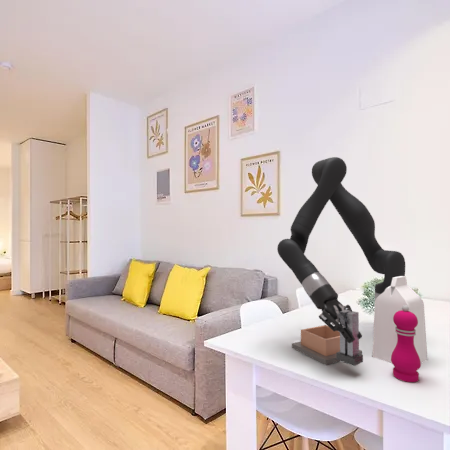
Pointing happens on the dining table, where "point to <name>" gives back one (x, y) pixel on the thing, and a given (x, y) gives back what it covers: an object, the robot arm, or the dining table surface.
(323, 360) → the holder
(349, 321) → the twin upright plate stand
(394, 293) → the milk
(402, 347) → the pepper mill
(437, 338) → the dining table surface
